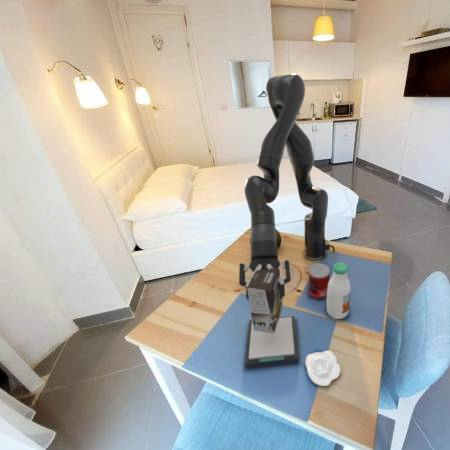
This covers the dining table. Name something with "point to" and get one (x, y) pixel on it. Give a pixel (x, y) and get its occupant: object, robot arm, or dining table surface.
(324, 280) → the canned food
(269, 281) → the coffee box
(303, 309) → the dining table surface
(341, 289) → the milk bottle
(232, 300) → the dining table surface
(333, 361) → the rose
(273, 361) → the scale
